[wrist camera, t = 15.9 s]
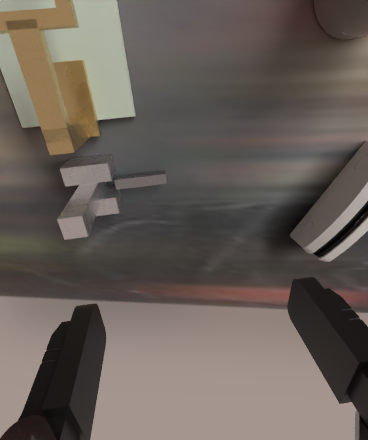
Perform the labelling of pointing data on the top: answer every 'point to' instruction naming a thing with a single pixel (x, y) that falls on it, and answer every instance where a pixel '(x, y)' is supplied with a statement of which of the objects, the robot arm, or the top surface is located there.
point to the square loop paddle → (53, 77)
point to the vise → (96, 192)
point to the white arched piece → (338, 212)
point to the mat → (76, 57)
